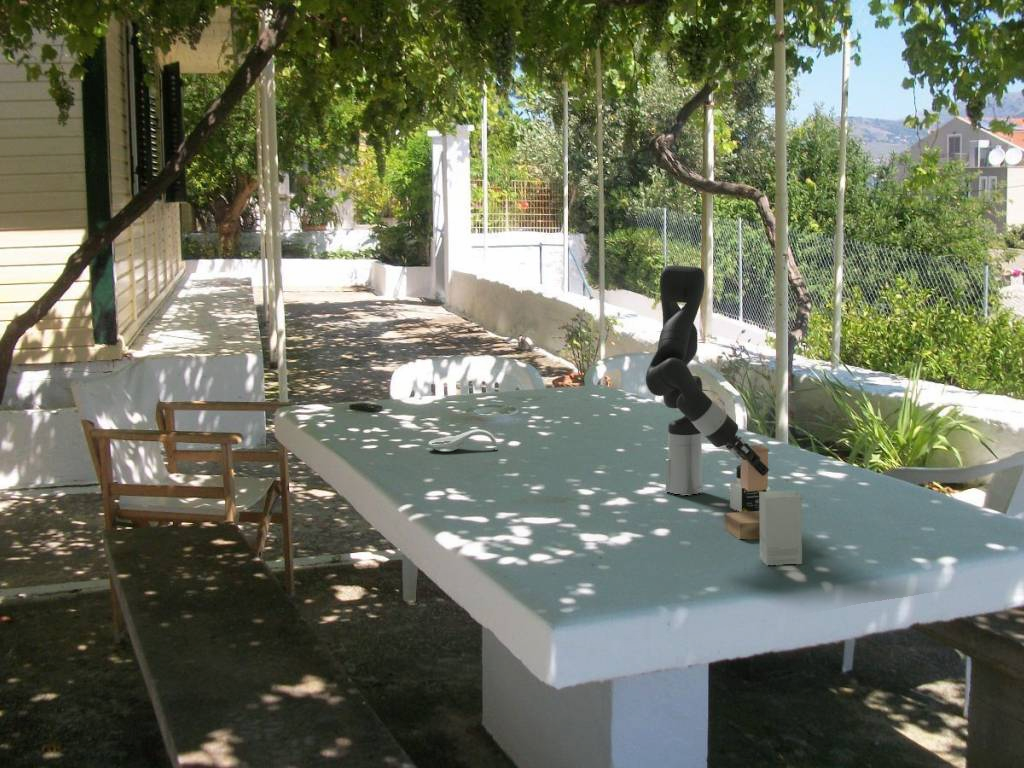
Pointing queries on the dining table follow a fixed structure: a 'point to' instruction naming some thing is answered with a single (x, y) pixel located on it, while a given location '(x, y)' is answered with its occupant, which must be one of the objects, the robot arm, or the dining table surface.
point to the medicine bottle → (743, 496)
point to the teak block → (743, 524)
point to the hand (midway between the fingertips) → (761, 470)
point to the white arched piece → (461, 438)
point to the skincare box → (780, 527)
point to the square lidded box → (750, 475)
